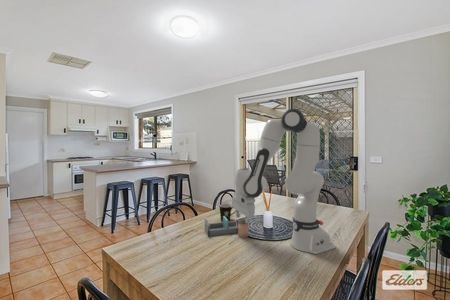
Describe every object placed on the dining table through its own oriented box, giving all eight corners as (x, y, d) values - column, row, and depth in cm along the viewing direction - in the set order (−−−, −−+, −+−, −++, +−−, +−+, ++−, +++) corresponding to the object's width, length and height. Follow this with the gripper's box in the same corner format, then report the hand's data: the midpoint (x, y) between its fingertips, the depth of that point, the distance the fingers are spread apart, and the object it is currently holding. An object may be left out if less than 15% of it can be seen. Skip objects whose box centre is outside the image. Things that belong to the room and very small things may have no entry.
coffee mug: (217, 221, 150) (217, 206, 150) (221, 217, 158) (221, 203, 158) (234, 222, 147) (234, 208, 147) (236, 218, 156) (236, 204, 155)
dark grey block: (235, 225, 142) (235, 216, 142) (240, 232, 131) (240, 222, 131) (204, 228, 137) (204, 219, 137) (208, 236, 126) (207, 226, 126)
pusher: (224, 226, 139) (224, 215, 139) (228, 232, 131) (228, 220, 131) (222, 227, 139) (222, 216, 138) (226, 232, 131) (226, 220, 130)
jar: (246, 232, 131) (246, 217, 131) (250, 237, 125) (250, 221, 125) (236, 233, 129) (236, 218, 129) (239, 238, 123) (239, 222, 123)
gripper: (229, 192, 134) (229, 214, 135) (247, 201, 116) (246, 227, 117) (238, 191, 137) (237, 213, 138) (257, 200, 119) (256, 225, 119)
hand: (242, 219), depth 127 cm, fingers open, 8 cm apart
